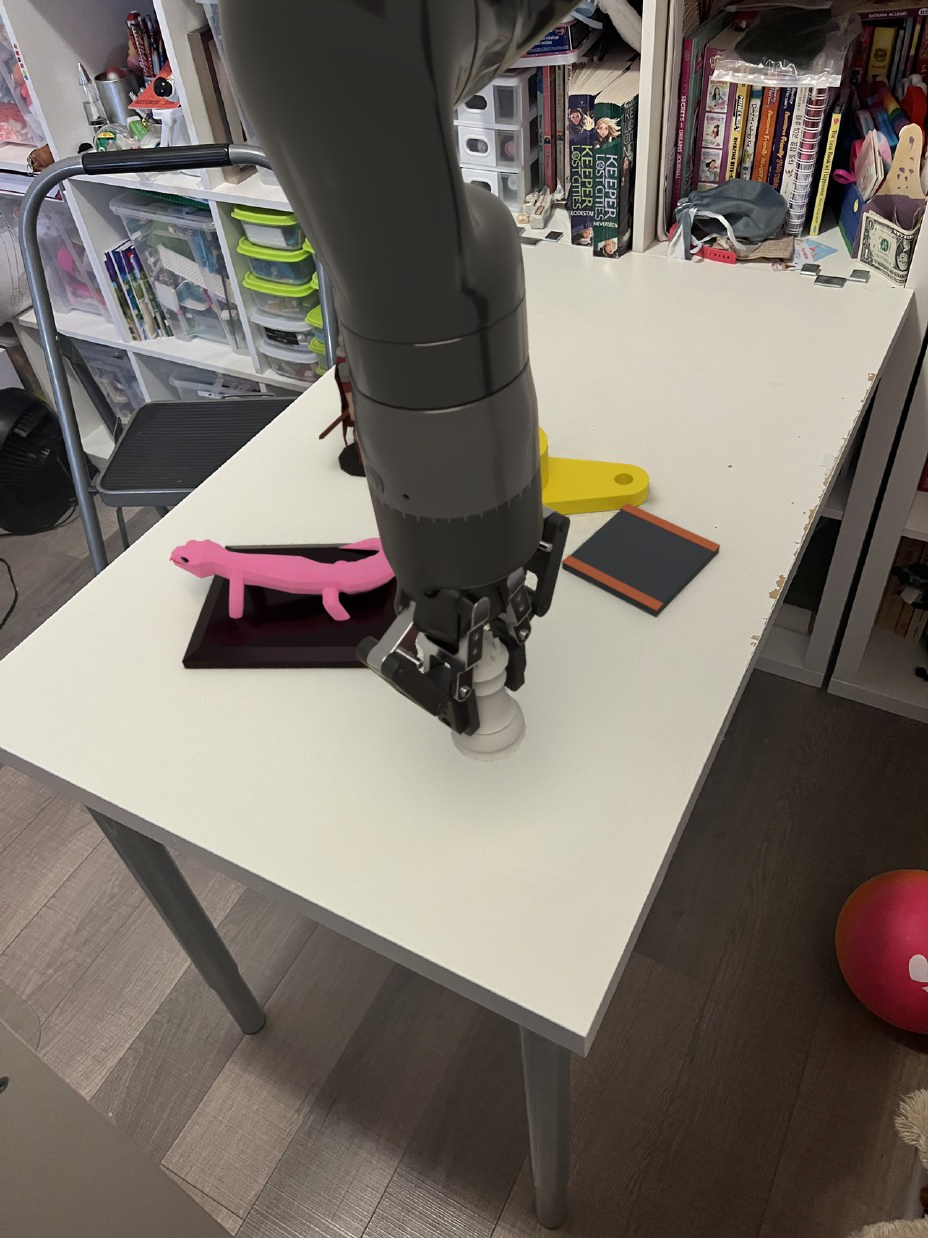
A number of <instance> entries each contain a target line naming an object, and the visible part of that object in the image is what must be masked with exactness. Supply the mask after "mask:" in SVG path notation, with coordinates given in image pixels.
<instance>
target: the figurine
mask: <svg viewBox="0 0 928 1238" xmlns="http://www.w3.org/2000/svg"><path fill="white" fill-rule="evenodd" d="M337 343H338V345H339V346H338V347H336V350H335V356H336V360H335V365H334V374H333V375H334V376H333V378H334V381H335V383H336V387H337V389H338V392H339V398H340V413H341V414H340V415H339V416H338V417H337V418H336V419H335V420H333V422H332V423H330V424H329V426H327V428H325V429H324V430H323V431H322V432H321V433H320V434H319V435H318V440H319V441H320V440H324V439H325V438H326V437H327V436H328V435H329V434H330V433H331V432H332V431H333V430H335V428H337V427H338V426H339V425H340V424H341V428H342V438H343V441H344V446H345V447H343V448H342V451H341V452H340V454H339V456H338V457H337V459H338V462H339V467H340V470H341V471H343V472H345V473H346V474H348V475H349V476H351V477H352V476H353V477H361V478H366V474H365V469H364V465H363V461H362V456H361V452H360V448H359V443H358V439H357V434H356V428H355V420H354V409H353V392H352V385H351V378H350V374H349V370H348V365H347V361H346V356H345V352H344V347H343V343H342V338H341V333H340V329H339V328H338V336H337ZM348 428H352V437H353V442H351V443H348V439H347V434H348Z"/></svg>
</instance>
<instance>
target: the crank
mask: <svg viewBox="0 0 928 1238" xmlns="http://www.w3.org/2000/svg"><path fill="white" fill-rule="evenodd" d="M539 439H540V460H541V482H542V504H543V505H544V506H546V507H549V508H551V509H553V510H555V511H557V512H558V513H560V514H562V515H564V516H567V515H576V514H585V513H586V514H587V513H595V512H597V513H598V512H606V511H615V510H621V508H622V507H623V506H624V505H625V504H626V503H629V504H631V505H633V506H635V507H638V506H641V505H643V503H645V501H646V500H647V499H648V497H649V487H650V476H649V473H647V471H646V470H645V469H644V468H642V467H640V466H638V465H635V464H631V463H623V462H609V461H600V460H589V459H580V458H568V457H567V458H566V457H559V456H558V457H557V456H549V441H548V435H547V433H546V432H545V430H544V429H543V428H542V427H541V426H540V425H539Z"/></svg>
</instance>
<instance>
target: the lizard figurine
mask: <svg viewBox="0 0 928 1238" xmlns="http://www.w3.org/2000/svg"><path fill="white" fill-rule="evenodd" d="M171 561H172V563H173V564H174V565H175V566H176V567H178V568H180V569H182V570H183V571H186V572H188V573H190V574H192V575H194V576H195V577H198V578H200V579H206V578H208V577H212V576H213V578H212V579H211V582H210V585H209V588H208V591H207V593H206V596H205V599H204V602H203V604H202V607H201V609H200V612H199V615H198V618H197V621H196V623H195V626H194V628H193V630H192V633H191V636H190V638H189V642H188V644H187V646H186V649H185V652H184V654H183V657H182V660H181V664H182V665H183V667H184V669H185V670H190V669H191V670H205V669H207V670H209V669H211V670H214V669H215V670H218V669H219V670H220V669H222V670H224V669H225V670H227V669H230V670H231V669H233V670H234V669H235V670H236V669H237V670H238V669H243V670H245V669H251V670H252V669H254V670H255V669H258V670H259V669H260V670H261V669H266V670H267V669H369V668H368V667H367V666H366V665H365V664H364V663H362V662H361V661H360V660H359V659H358V658H357V657H356V649H357V646H358V644H359V643H360V642H361V641H362V640H363V639H364V638H366V637H369V636H371V637H373V638H374V639H376V640H377V641H380V640H381V639H382V637H383V636H384V635H385V633H386V632H387V630H388V629H389V628H390V626H391V625H392V624H393V622H394V621H395V619H396V618H397V615H396V612H395V608H394V601H395V597H396V592H397V578H396V576H395V574H394V572H393V570H392V568H391V566H390V564H389V562H388V560H387V558H386V556H385V554H384V551H383V549H382V545H381V540H380V537H370V538H365V539H362V540H359V541H355V542H343V543H342V542H341V543H340V542H336V543H335V542H334V543H292V544H291V543H289V544H288V543H287V544H286V543H285V544H243V545H242V544H241V545H239V544H238V545H237V544H236V545H233V544H232V545H225V546H224V547H223V546H222V545H221V544H219V543H218V542H215V541H213V540H211V539H208V538H207V539H204V540H196V539H190V540H188V541H187V542H186V543H185V545H179V546H177V547H175V548H174V549H173V550H172V551H171V553H170V558H169V562H171Z"/></svg>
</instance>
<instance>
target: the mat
mask: <svg viewBox="0 0 928 1238" xmlns="http://www.w3.org/2000/svg"><path fill="white" fill-rule="evenodd" d="M720 547H721V544H719V543H716V542H715V541H712V540H710V539H708V538H705V537H704V536H701V535H699V534H697V533H695V532H692V531H690V530H688V529H686V528H683V527H681V526H679V525H677V524H675V523H673V522H670V521H669V520H666V519H663V518H662V517H659V516H657V515H655V514H653V513H651V512H649V511H646V510H644V509H642V508H640V507H638V506H636V507H635V506H633V505H631V504H629V503H626V504H625V505H624V506H623V507H622V508H621V509H619V510H618V511H617V512H616V513H615V514H614V515H612V517H610V519H608V520H607V521H606V522H605V523H604V524H603V525H602V526H601V527H600V528H599V529H597V530H596V531H595V532H593V534H592V535H590V537H588V538H587V539H586V540H585V541H584V542H583V543H582V544H581V545H579V546H578V547H577V548H576V549H575V550H574V551H573V552H572V553H570V554H568V555H567V556H566V557H565V558H564V559H562V560H561V566H562V569H563V570H565V571H566V572H569V573H571V574H572V575H574V576H576V577H578V578H580V579H582V580H584V581H586V582H587V583H590V584H591V585H594V586H595V587H597V588H600V589H601V590H602V591H603V590H604V591H605V592H607V593H609V594H611V595H613V596H615V597H616V598H618V599H621V600H622V601H624V602H626V603H628V604H630V605H632V606H633V607H635V608H638V609H639V610H641V611H643V612H645V613H647V614H649V615H651V616H653V617H655V618H657V617H658V615H660V614H661V613H662V611H664V609H666V607H668V605H669V604H670V603H671V602H672V601H673V600H674V599H675V598H676V597H677V596H678V595H679V594H680V593H681V592H682V591H683V590H684V589H685V588H686V587H687V586H688V585H689V584H690V583H691V582H692V581H693V580H694V578H696V577H697V576H698V574H700V573H701V571H702V570H703V569H705V568H706V566H707V565H708V564H709V563H710V562H711V561H712V560H713V559H714V558H715V557H716V556H717V555H718V554H719V553H720Z"/></svg>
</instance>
